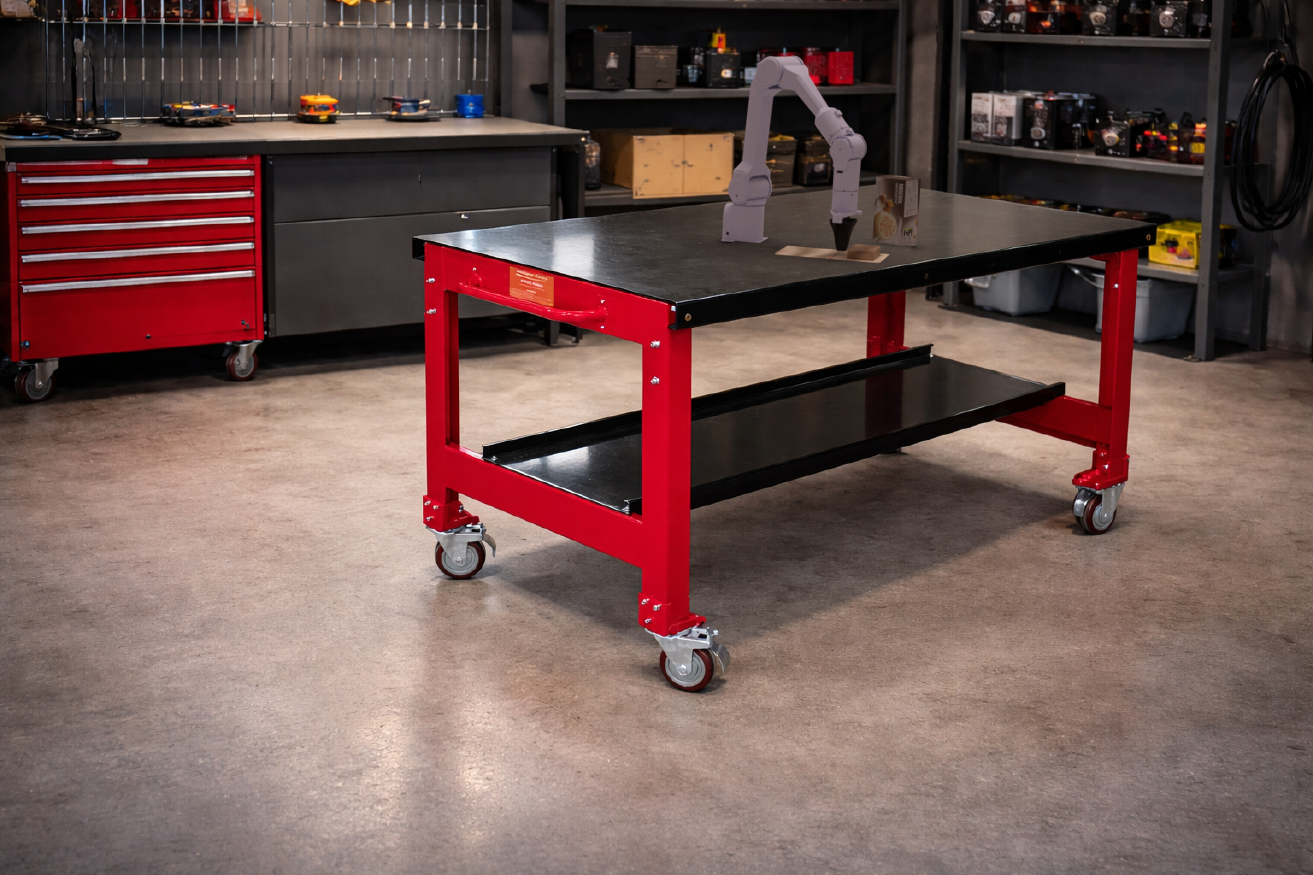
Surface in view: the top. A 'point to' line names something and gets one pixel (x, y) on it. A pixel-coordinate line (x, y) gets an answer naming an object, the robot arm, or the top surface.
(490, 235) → the top surface
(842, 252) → the pale wooden flat slab
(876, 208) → the coffee box
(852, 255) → the stub tile
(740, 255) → the top surface
